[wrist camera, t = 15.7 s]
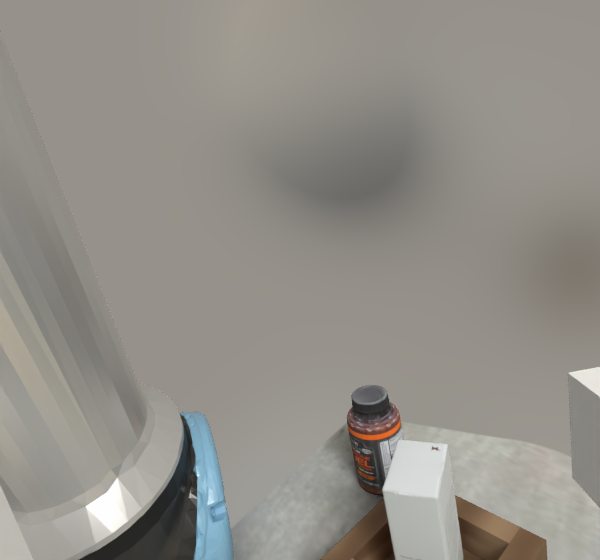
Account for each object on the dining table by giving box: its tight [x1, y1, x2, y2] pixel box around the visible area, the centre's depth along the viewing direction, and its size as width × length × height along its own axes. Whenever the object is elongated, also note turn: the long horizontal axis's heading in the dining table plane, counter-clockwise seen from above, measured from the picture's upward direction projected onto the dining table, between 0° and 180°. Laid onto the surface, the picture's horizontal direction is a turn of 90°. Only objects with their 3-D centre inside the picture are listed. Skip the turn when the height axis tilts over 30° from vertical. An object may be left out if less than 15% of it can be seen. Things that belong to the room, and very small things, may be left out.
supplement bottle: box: [347, 385, 403, 495], centre depth 49 cm, size 6×6×11 cm
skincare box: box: [382, 440, 463, 560], centre depth 35 cm, size 6×4×12 cm
